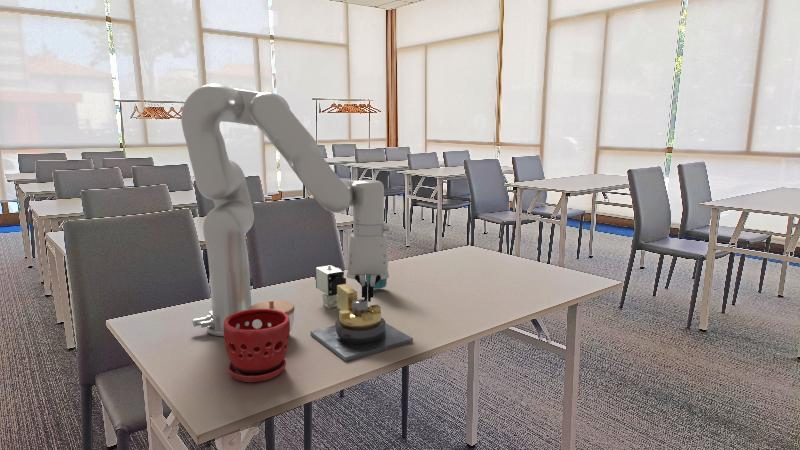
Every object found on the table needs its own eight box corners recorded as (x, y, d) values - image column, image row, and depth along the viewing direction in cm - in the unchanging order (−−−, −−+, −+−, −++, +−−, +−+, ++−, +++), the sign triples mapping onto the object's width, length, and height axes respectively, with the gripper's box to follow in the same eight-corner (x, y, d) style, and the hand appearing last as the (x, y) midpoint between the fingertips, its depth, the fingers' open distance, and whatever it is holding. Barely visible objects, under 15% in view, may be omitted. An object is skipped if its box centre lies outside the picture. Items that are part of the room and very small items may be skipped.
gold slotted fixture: (388, 324, 122) (388, 300, 121) (348, 332, 118) (348, 307, 117) (359, 303, 137) (359, 281, 136) (323, 310, 133) (322, 287, 132)
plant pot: (239, 394, 99) (235, 335, 97) (218, 369, 110) (214, 315, 108) (302, 375, 107) (300, 320, 105) (276, 353, 117) (274, 302, 115)
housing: (345, 361, 113) (345, 344, 112) (309, 334, 128) (309, 319, 127) (412, 342, 123) (412, 326, 122) (372, 319, 138) (371, 304, 137)
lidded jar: (304, 337, 126) (302, 300, 125) (264, 350, 119) (262, 311, 117) (280, 325, 134) (278, 290, 132) (242, 337, 127) (239, 300, 125)
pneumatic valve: (331, 314, 142) (330, 271, 140) (314, 302, 152) (313, 262, 150) (349, 310, 145) (348, 268, 143) (332, 298, 155) (330, 259, 152)
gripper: (397, 227, 134) (396, 295, 137) (339, 226, 133) (339, 295, 137) (398, 233, 126) (397, 305, 130) (337, 232, 126) (337, 304, 129)
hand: (367, 299), depth 133 cm, fingers closed
